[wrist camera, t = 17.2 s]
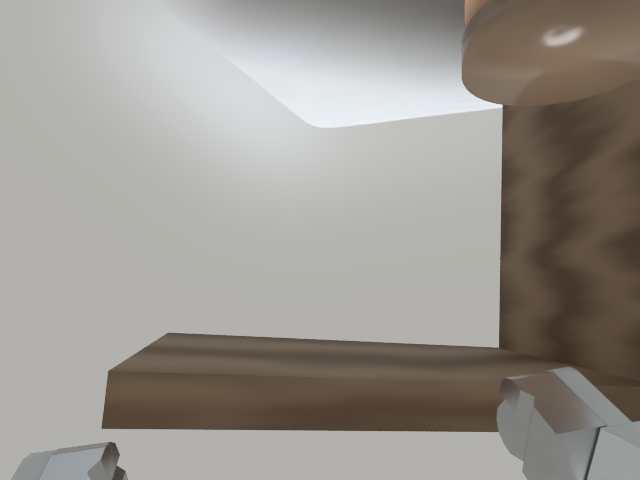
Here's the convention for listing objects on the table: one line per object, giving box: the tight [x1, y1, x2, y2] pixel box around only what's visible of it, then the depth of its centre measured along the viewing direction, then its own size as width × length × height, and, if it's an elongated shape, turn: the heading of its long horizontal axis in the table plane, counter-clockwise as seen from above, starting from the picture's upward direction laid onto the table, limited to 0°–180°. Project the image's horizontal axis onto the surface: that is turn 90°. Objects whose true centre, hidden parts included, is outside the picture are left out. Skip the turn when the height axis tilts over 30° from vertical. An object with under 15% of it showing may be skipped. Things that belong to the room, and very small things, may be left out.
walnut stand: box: [102, 78, 640, 432], centre depth 25 cm, size 13×26×26 cm, turn 80°
